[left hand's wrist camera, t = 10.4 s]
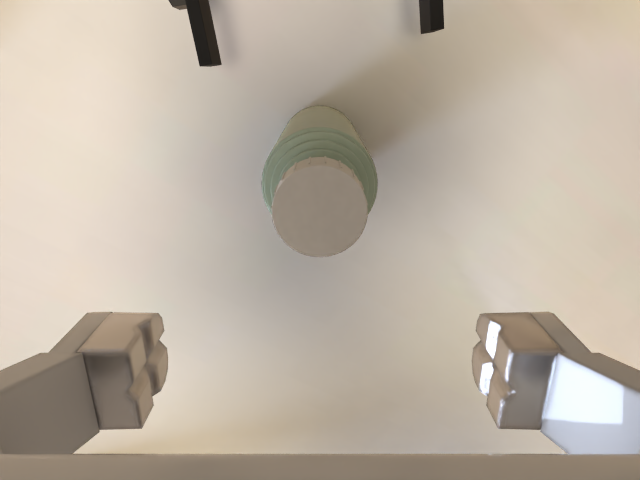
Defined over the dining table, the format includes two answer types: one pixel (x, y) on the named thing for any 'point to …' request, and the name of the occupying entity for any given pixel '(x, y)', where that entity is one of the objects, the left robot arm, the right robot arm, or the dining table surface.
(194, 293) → the dining table surface
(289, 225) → the cap
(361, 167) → the bottle
